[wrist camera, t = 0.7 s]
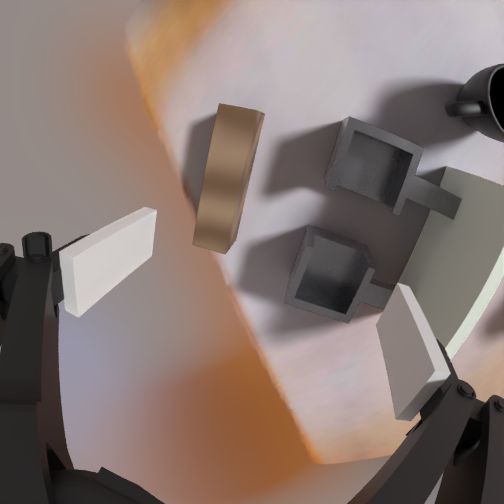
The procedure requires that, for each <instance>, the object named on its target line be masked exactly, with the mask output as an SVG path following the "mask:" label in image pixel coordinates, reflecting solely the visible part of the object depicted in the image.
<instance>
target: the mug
mask: <svg viewBox="0 0 504 504" xmlns="http://www.w3.org/2000/svg"><path fill="white" fill-rule="evenodd" d="M445 110H446V113H447V115H448V116H449V117H462V118H463V120H464V121H465V122H466V123H467V124H468V125H469V126H471V127H473V128H474V129H476V130H477V131H479V132H480V133H482V134H484V135H485V136H487V137H490V138H492V139H495V140H498V141H500V142H504V64H498V65H495V66H491V67H488V68H485V69H483V70H481V71H480V72H478V73H476V74H475V75H474V76H472V77H471V79H470V80H469V81H468V82H467V83H466V84H465V85H464V87H463V88H462V89H461V90H460V92H459V94H458V98H457V102H449V103H446V104H445Z"/></svg>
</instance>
